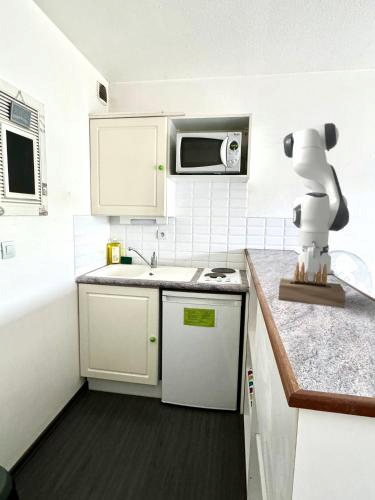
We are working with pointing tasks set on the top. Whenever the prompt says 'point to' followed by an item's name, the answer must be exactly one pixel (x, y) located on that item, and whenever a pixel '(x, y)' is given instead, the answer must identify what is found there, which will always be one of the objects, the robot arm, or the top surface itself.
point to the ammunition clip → (303, 277)
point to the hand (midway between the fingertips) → (310, 279)
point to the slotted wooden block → (312, 293)
